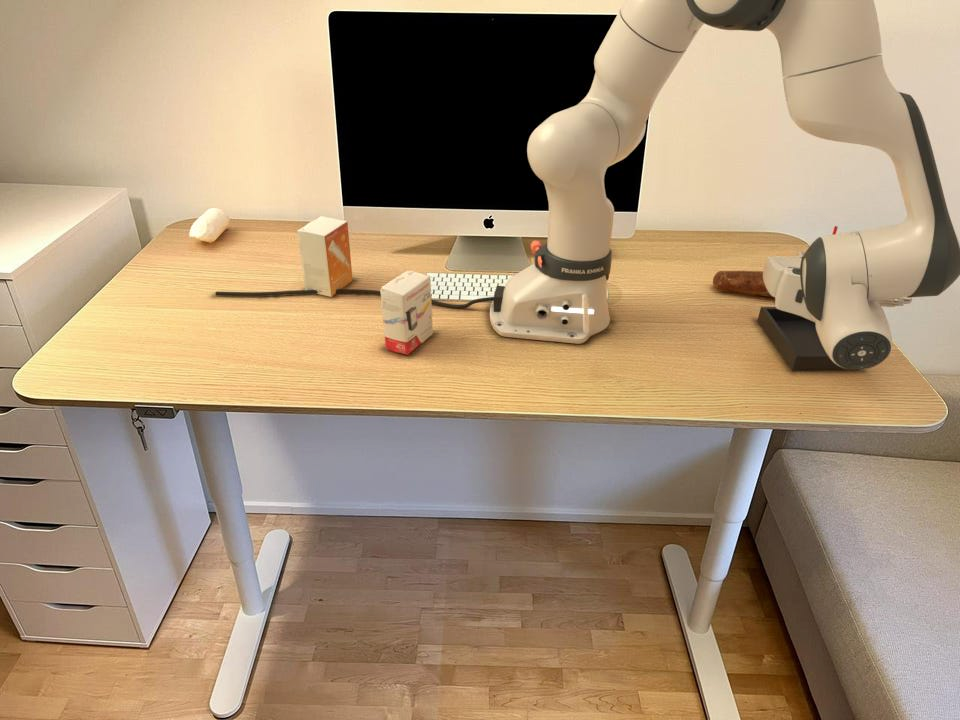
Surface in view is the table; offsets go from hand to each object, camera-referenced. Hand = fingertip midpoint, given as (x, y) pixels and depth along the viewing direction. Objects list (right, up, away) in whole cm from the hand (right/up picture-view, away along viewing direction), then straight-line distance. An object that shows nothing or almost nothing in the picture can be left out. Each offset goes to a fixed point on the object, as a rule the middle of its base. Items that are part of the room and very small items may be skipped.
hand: (824, 258), depth 118 cm
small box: (-87, -2, +25) cm, 91 cm away
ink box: (-70, -14, +8) cm, 71 cm away
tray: (+1, -14, +9) cm, 17 cm away
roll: (-118, +10, +42) cm, 126 cm away
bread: (-1, -4, +24) cm, 24 cm away
